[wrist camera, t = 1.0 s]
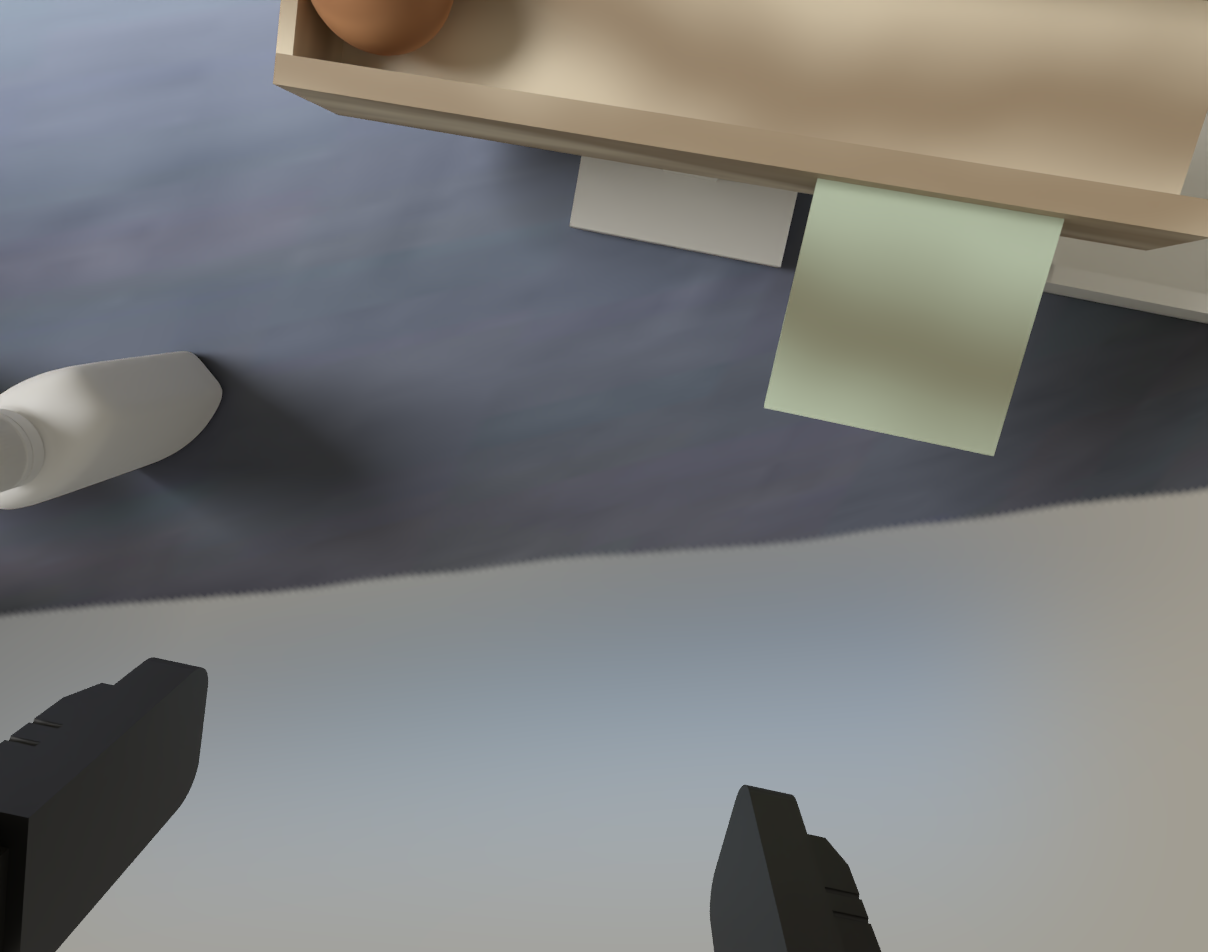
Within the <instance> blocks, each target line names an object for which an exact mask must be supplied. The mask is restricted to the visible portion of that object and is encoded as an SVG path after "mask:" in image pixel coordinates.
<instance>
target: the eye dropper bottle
mask: <svg viewBox="0 0 1208 952" xmlns="http://www.w3.org/2000/svg"><path fill="white" fill-rule="evenodd" d="M221 399H222V388H221V386H220V384H219V382H218V381H217V380H216V379H215V377H214V376H213V375H212V374H211V372H210V371H209V370H208V369H207V368H206V366H205V365H204V364H203V363H202V362H201V360H200V359H199V358H198V357H197V356H196V355H194V354H193V353H191V352H186V351H179V352H171V353H163V354H155V355H147V356H139V357H132V358H124V359H117V360H110V361H102V362H95V363H89V364H83V365H76V366H70V367H65V368H61V369H57V370H53V371H49V372H46V373H43V374H40V375H37V376H34V377H32V378H29V379H27V380H25V381H23V382H20V383H19V384H17V385H15V386H13V387H11V388H9V389H8V390H6V391H5V392H3V393H2V394H0V509H17V508H22V507H26V506H30V505H34V504H38V503H41V502H44V501H47V500H50V499H53V498H56V497H59V496H62V495H65V494H68V493H70V492H73V491H76V490H79V489H82V488H85V487H87V486H90V485H93V484H96V483H99V482H102V481H105V480H107V479H110V478H113V477H116V476H119V475H121V474H124V473H127V472H130V471H133V470H136V469H138V468H141V467H144V466H147V465H150V464H152V463H155V462H157V461H160V460H162V459H164V458H166V457H168V456H170V455H172V454H174V453H175V452H177V451H179V450H180V449H182V448H183V447H185V446H186V445H187V444H189V443H190V442H191V441H192V440H193V439H194V438H195V437H196V436H197V435H198V434H199V433H200V432H201V431H202V430H203V429H204V428H205V426H206V425H207V424H208V423H209V421H210V420H211V418H212V417H213V415H214V413H215V412H216V410H217V408H218V406H219V404H220V401H221Z"/></svg>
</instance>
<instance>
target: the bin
mask: <svg viewBox="0 0 1208 952" xmlns="http://www.w3.org/2000/svg"><path fill="white" fill-rule="evenodd" d="M1180 195H1184V196H1190V197H1196V198H1203V199H1208V111H1207V114H1206V117H1205V120H1204V123H1203V126H1202V129H1201V132H1200V135H1199V138H1198V141H1197V144H1196V147H1195V150H1194V153H1193V157H1192V160H1191V163H1190V166H1189V169H1188V172H1187V175H1186V178H1185V181H1184V184H1183V187H1182V190H1181V193H1180ZM1043 292H1047V293H1052V294H1057V295H1062V296H1068V297H1073V298H1078V299H1083V300H1088V301H1093V302H1098V303H1103V304H1109V305H1114V306H1119V307H1124V308H1129V309H1134V310H1139V311H1144V312H1149V313H1155V314H1160V315H1165V316H1170V317H1175V318H1180V319H1185V320H1190V321H1196V322H1201V323H1206V324H1208V239H1203V240H1198V241H1193V242H1188V243H1183V244H1178V245H1173V246H1168V247H1162V248H1157V249H1152V250H1147V251H1145V250H1139V249H1133V248H1127V247H1121V246H1115V245H1109V244H1103V243H1097V242H1091V241H1085V240H1080V239H1074V238H1068V237H1062V236H1059V239H1058V243H1057V246H1056V249H1055V253H1054V256H1053V259H1052V263H1051V266H1050V269H1049V273H1048V276H1047V280H1046V283H1045V286H1044V290H1043Z"/></svg>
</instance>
